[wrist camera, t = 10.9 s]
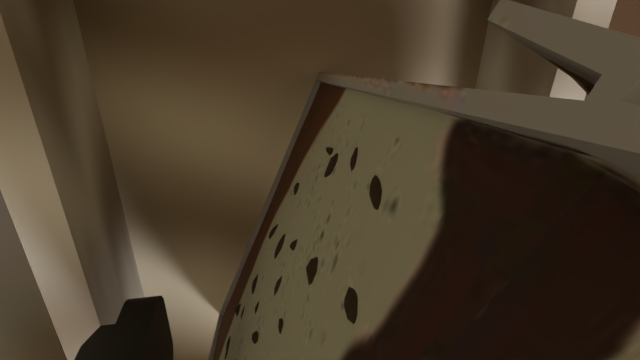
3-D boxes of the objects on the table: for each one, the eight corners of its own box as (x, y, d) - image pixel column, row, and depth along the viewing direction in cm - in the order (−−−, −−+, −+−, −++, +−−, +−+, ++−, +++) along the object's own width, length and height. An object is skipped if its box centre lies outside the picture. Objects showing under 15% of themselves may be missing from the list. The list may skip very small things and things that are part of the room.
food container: (350, 376, 15) (450, 902, 6) (207, 342, 14) (54, 962, 5) (517, 105, 11) (1549, 450, 2) (340, 19, 10) (1113, -89, 1)
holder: (-90, -163, 7) (-336, -287, 4) (582, -101, 10) (732, -151, 7) (119, 434, 16) (88, 539, 13) (455, 378, 19) (496, 453, 15)
